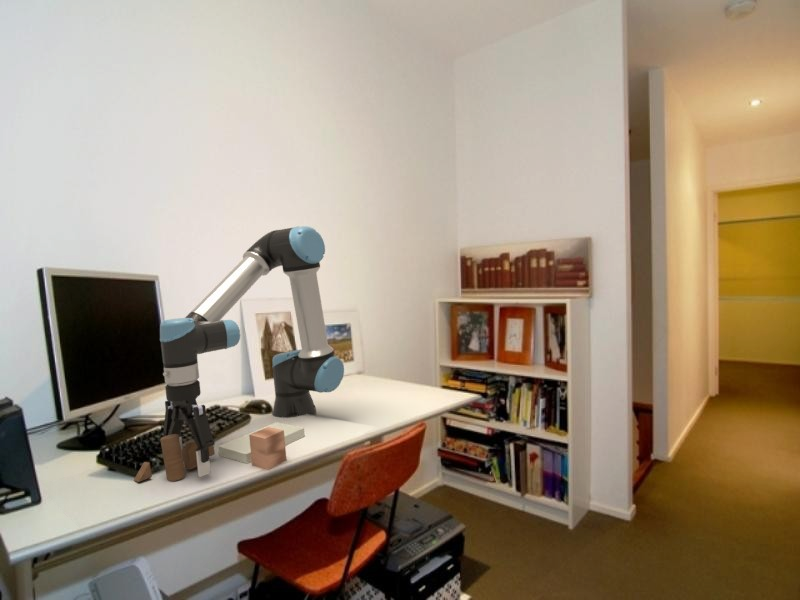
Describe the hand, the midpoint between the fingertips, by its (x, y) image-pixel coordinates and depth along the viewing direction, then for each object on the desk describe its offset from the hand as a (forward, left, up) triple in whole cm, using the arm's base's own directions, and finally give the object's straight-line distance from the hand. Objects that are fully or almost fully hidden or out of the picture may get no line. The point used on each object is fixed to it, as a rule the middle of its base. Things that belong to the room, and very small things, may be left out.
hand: (190, 469), depth 109 cm
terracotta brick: (-13, +13, -1) cm, 19 cm away
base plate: (-20, +2, -1) cm, 20 cm away
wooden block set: (+2, -2, -1) cm, 3 cm away
